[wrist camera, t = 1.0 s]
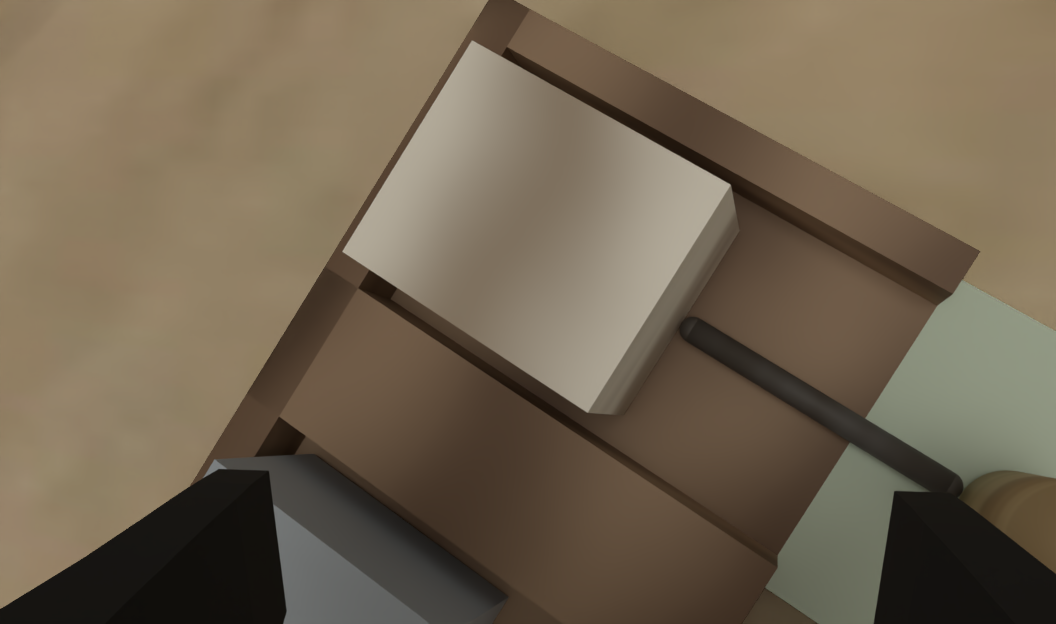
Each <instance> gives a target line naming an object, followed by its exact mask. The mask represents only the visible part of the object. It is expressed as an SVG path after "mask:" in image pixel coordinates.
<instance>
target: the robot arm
mask: <svg viewBox="0 0 1056 624" xmlns="http://www.w3.org/2000/svg"><path fill="white" fill-rule="evenodd" d="M286 612H287V609H286V601H285V593H284V586H283V578H282V570H281V562H280V554H279V546H278V538H277V530H276V522H275V515H274V507H273V499H272V491H271V483H270V475H269V471H266V470H236V469H218V470H216V471H214V472H213V473H211V474H209V475H207V476H206V477H204V478H202V479H201V480H199V481H198V482H196V483H195V484H193V485H191V486H190V487H188V488H187V489H185V490H184V491H182V492H181V493H179V494H178V495H176V496H175V497H173V498H172V499H170V500H169V501H167V502H166V503H165V504H163V505H162V506H160V507H159V508H157V509H156V510H154V511H153V512H151V513H150V514H148V515H147V516H145V517H144V518H143V519H141V520H140V521H138V522H137V523H135V524H134V525H132V526H131V527H129V528H128V529H126V530H125V531H123V532H122V533H120V534H119V535H117V536H116V537H114V538H113V539H111V540H110V541H108V542H107V543H105V544H104V545H102V546H101V547H99V548H98V549H96V550H95V551H93V552H92V553H90V554H89V555H87V556H86V557H84V558H83V559H81V560H80V561H78V562H76V563H75V564H73V565H71V566H70V567H68V568H67V569H65V570H63V571H62V572H60V573H58V574H57V575H55V576H54V577H52V578H50V579H49V580H47V581H45V582H44V583H42V584H41V585H39V586H37V587H36V588H34V589H32V590H31V591H29V592H28V593H26V594H24V595H23V596H21V597H19V598H18V599H16V600H15V601H13V602H11V603H10V604H8V605H6V606H5V607H3V608H1V609H0V624H283V623H284V619H285V616H286ZM874 624H1056V573H1054V572H1053V571H1052V570H1050V569H1049V568H1048V567H1047V566H1045V565H1044V564H1043V563H1041V562H1040V561H1039V560H1038V559H1036V558H1035V557H1034V556H1032V555H1031V554H1030V553H1029V552H1027V551H1026V550H1025V549H1024V548H1022V547H1021V546H1020V545H1018V544H1017V543H1016V542H1015V541H1013V540H1012V539H1011V538H1010V537H1008V536H1007V535H1006V534H1005V533H1003V532H1002V531H1001V530H999V529H998V528H997V527H996V526H994V525H993V524H992V523H991V522H989V521H988V520H987V519H985V518H984V517H983V516H982V515H980V514H979V513H978V512H976V511H975V510H974V509H972V508H971V507H970V506H968V505H967V504H966V503H964V502H963V501H961V500H960V499H959V498H957V497H956V496H954V495H953V494H951V493H945V492H914V491H894V496H893V502H892V509H891V515H890V522H889V528H888V534H887V541H886V547H885V554H884V560H883V567H882V573H881V579H880V586H879V592H878V599H877V605H876V611H875V618H874Z"/></svg>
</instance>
